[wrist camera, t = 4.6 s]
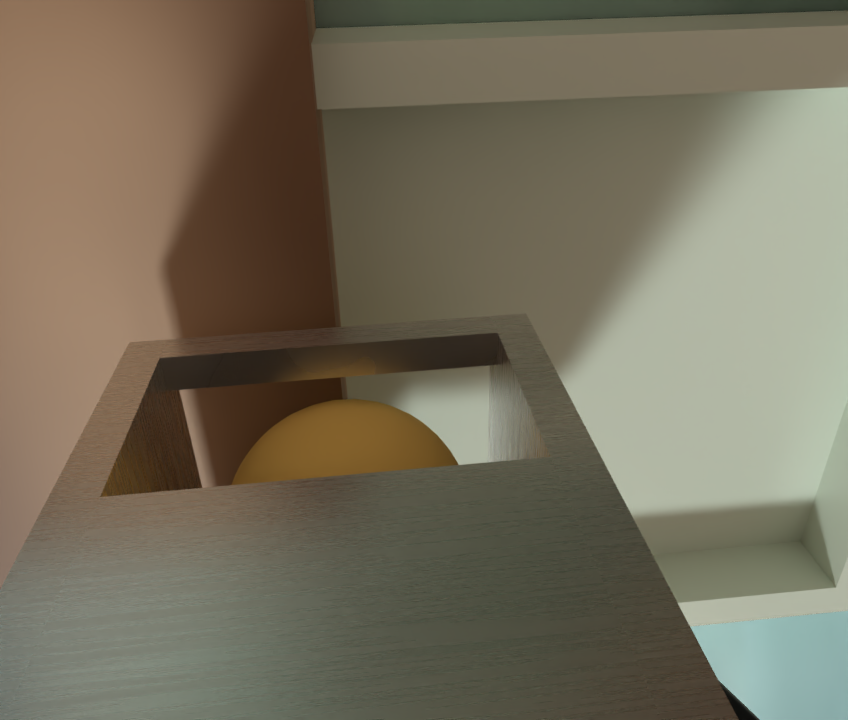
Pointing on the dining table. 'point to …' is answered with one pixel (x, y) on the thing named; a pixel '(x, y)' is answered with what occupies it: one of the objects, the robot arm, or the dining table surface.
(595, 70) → the tray
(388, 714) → the gray slotted box
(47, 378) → the brown flat board
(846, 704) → the dining table surface
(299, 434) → the ball
